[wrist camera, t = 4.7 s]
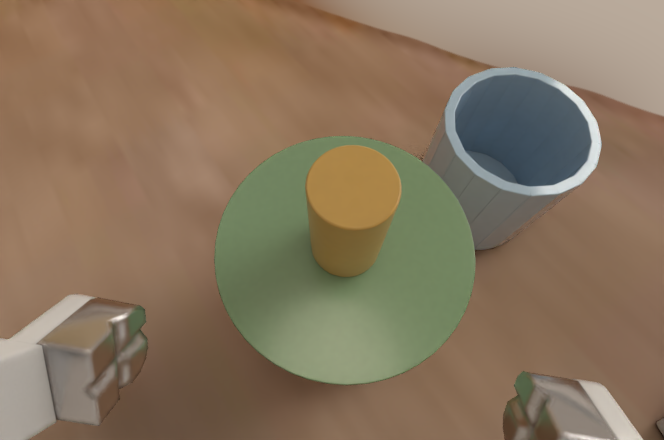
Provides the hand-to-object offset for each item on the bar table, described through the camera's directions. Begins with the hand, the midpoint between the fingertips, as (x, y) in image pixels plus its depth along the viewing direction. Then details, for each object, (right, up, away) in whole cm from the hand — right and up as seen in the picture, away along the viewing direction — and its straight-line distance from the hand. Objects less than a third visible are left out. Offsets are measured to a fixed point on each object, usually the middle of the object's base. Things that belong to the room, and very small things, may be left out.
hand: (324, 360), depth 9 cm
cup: (+11, +5, +22) cm, 25 cm away
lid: (+1, +2, +9) cm, 9 cm away
